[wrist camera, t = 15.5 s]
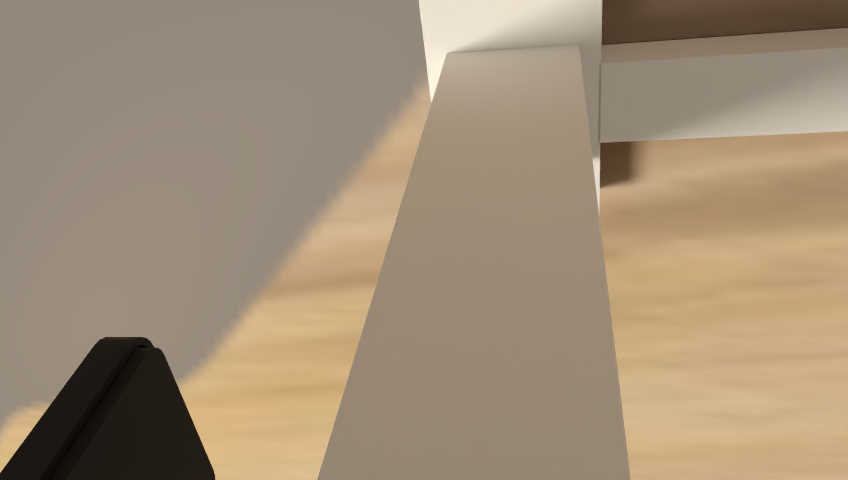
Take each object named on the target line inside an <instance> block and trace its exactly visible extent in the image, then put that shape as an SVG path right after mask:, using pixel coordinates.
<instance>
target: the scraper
mask: <svg viewBox="0 0 848 480" xmlns="http://www.w3.org/2000/svg"><path fill="white" fill-rule="evenodd" d="M419 6H420V14H421V23H422V31H423V39H424V47H425V55H426V63H427V71H428V80H429V88H430V96H431V107H430V110H429V113H428V116H427V120H426V123H425V126H424V130H423V133H422V136H421V140H420V143H419V146H418V149H417V153H416V156H415V159H414V163H413V166H412V169H411V173H410V176H409V179H408V182H407V186H406V189H405V192H404V196H403V199H402V202H401V206H400V209H399V212H398V215H397V219H396V222H395V225H394V229H393V232H392V235H391V239H390V242H389V245H388V248H387V252H386V255H385V258H384V262H383V265H382V268H381V272H380V275H379V278H378V281H377V285H376V288H375V291H374V295H373V298H372V301H371V305H370V308H369V311H368V315H367V318H366V321H365V324H364V328H363V331H362V334H361V338H360V341H359V344H358V348H357V351H356V354H355V357H354V361H353V364H352V367H351V371H350V374H349V377H348V381H347V384H346V387H345V390H344V394H343V397H342V400H341V404H340V407H339V410H338V414H337V417H336V420H335V423H334V427H333V430H332V433H331V437H330V440H329V443H328V447H327V450H326V453H325V456H324V460H323V463H322V466H321V470H320V473H319V476H318V480H630V472H629V463H628V455H627V447H626V438H625V430H624V421H623V413H622V404H621V396H620V388H619V379H618V371H617V362H616V354H615V345H614V337H613V328H612V320H611V312H610V303H609V295H608V286H607V278H606V269H605V261H604V252H603V244H602V236H601V227H600V219H599V197H600V143H608V142H629V141H650V140H671V139H692V138H713V137H734V136H755V135H776V134H797V133H818V132H839V131H848V28H838V29H824V30H810V31H796V32H781V33H767V34H753V35H739V36H725V37H710V38H696V39H682V40H668V41H654V42H640V43H625V44H611V45H602V0H419Z"/></svg>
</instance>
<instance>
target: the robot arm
mask: <svg viewBox="0 0 848 480" xmlns="http://www.w3.org/2000/svg"><path fill="white" fill-rule="evenodd" d="M0 480H215V474H214V471H213V468H212V466H211V463H210V461H209V459H208V456H207V454H206V452H205V449H204V447H203V445H202V442H201V440H200V438H199V435H198V433H197V431H196V428H195V426H194V424H193V421H192V419H191V416H190V414H189V412H188V409H187V407H186V405H185V402H184V400H183V398H182V395H181V393H180V391H179V388H178V386H177V384H176V381H175V379H174V377H173V374H172V372H171V370H170V367H169V365H168V362H167V360H166V358H165V356H164V354H163V352H162V350H160V349H159V348H154V346H153V345H152V343H151V341H149V340H148V339H147V338H144V337H105V338H103V339H100V340H99V341H98V342H97V343H96V344H95V345H94V347H93V348H92V349H91V351H90V352H89V353H88V355H87V356H86V358H85V359H84V360H83V362H82V363H81V364H80V366H79V367H78V368H77V370H76V371H75V372H74V374H73V375H72V376H71V378H70V379H69V381H68V382H67V383H66V385H65V386H64V387H63V389H62V390H61V391H60V393H59V394H58V395H57V397H56V398H55V400H54V401H53V402H52V404H51V405H50V406H49V408H48V409H47V410H46V412H45V413H44V414H43V416H42V417H41V419H40V420H39V421H38V423H37V424H36V425H35V427H34V428H33V429H32V431H31V432H30V433H29V435H28V436H27V438H26V439H25V440H24V442H23V443H22V444H21V446H20V447H19V448H18V450H17V451H16V452H15V454H14V455H13V457H12V458H11V459H10V461H9V462H8V463H7V465H6V466H5V467H4V469H3V470H2V471H1V473H0Z"/></svg>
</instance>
